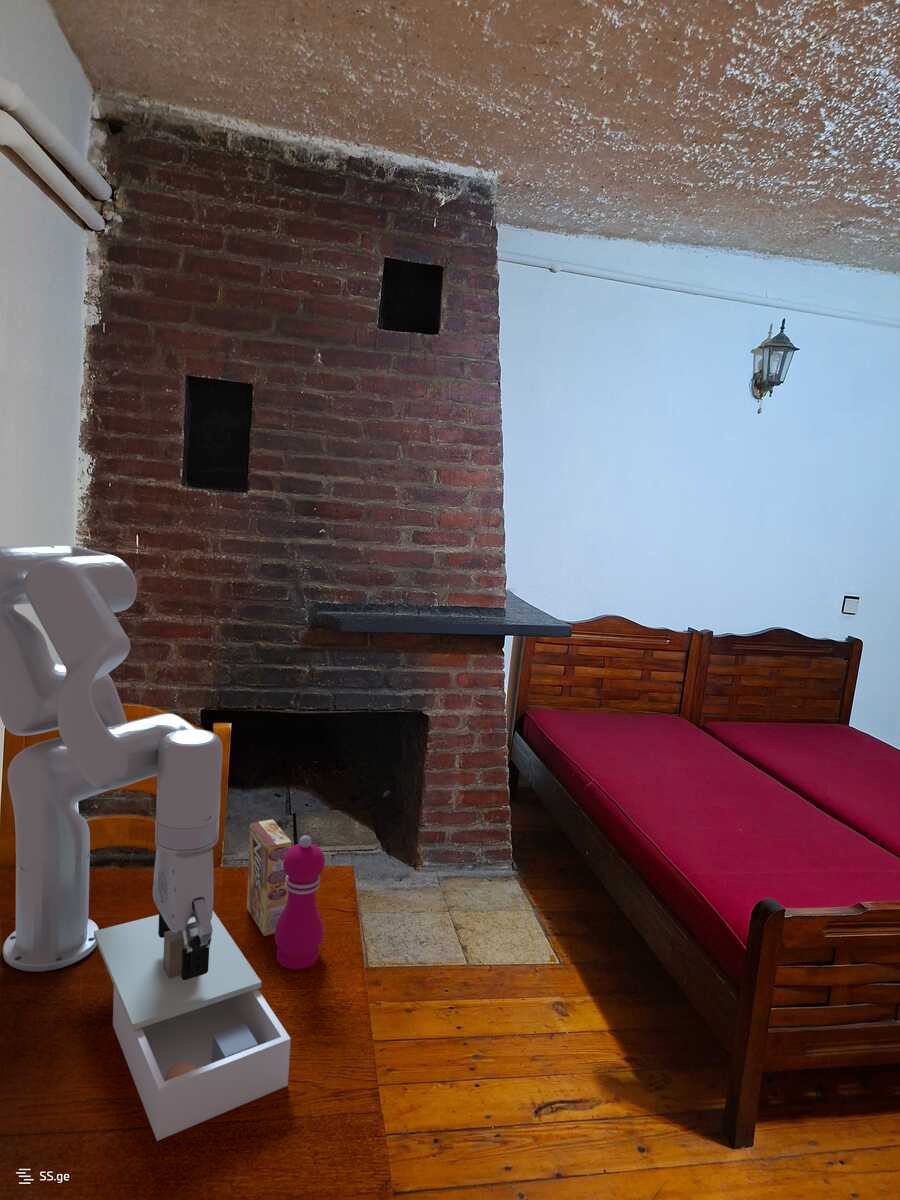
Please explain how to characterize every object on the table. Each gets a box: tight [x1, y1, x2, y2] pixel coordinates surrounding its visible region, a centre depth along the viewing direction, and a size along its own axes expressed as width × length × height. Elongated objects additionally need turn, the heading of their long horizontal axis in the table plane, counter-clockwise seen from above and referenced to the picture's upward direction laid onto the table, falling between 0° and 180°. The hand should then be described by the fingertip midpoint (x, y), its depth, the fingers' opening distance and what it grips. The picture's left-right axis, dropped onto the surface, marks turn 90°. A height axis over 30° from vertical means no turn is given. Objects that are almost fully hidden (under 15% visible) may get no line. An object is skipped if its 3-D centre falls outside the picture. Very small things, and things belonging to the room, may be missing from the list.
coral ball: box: [165, 1061, 196, 1081], centre depth 88 cm, size 4×4×4 cm
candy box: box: [246, 819, 293, 937], centre depth 123 cm, size 9×4×15 cm, turn 33°
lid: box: [94, 910, 262, 1031], centre depth 100 cm, size 21×16×6 cm
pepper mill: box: [273, 835, 326, 970], centre depth 113 cm, size 7×7×20 cm
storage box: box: [112, 986, 292, 1142], centre depth 93 cm, size 20×15×7 cm
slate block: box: [212, 1024, 258, 1063], centre depth 92 cm, size 4×4×4 cm
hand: (182, 954), depth 98 cm, fingers open, 9 cm apart
